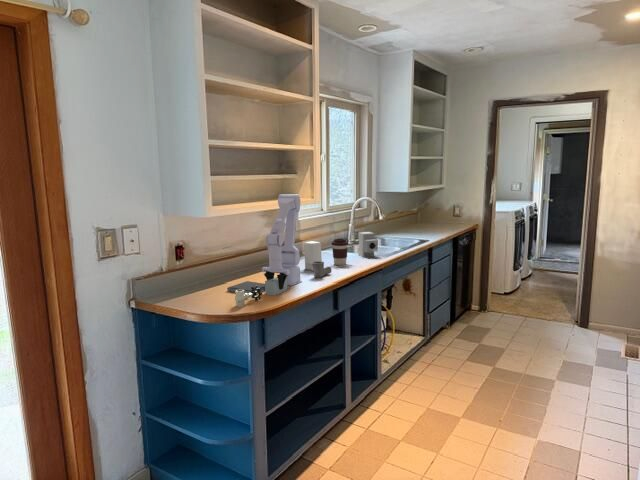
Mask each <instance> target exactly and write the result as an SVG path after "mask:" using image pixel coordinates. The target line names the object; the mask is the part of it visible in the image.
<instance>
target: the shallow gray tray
mask: <svg viewBox="0 0 640 480" xmlns="http://www.w3.org/2000/svg"><path fill="white" fill-rule="evenodd" d="M254 286H257V288H261V290H260V293H262V292H263V293H264V292H265V282H264V283H261V282H257V281H249V280H246V281H243V282H240V283H238V284H234V285H231V286H228V287H227V292H228V293H229V292H230V293H235V291H236V290H244V293H247V294H248V293H250V291H251V290H253V289H251V287H254ZM254 288H255V287H254ZM254 291H257V290H254Z"/></svg>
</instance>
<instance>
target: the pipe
mask: <svg viewBox="0 0 640 480" xmlns="http://www.w3.org/2000/svg"><path fill="white" fill-rule="evenodd" d="M312 266H313V270H314V271H313V276H314V278H316V279H319V278H322V277H324V276H326V275H329V274H331V273H332V269H333V268H332V267H331V266H326V267H324V266H325V261H322V262H312Z"/></svg>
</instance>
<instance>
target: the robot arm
mask: <svg viewBox="0 0 640 480" xmlns="http://www.w3.org/2000/svg"><path fill="white" fill-rule="evenodd" d="M277 204H278V207H279V208H278V212H277V218H276V219H275V220H274V221H273V222H272V223H273V224H272V225H271V226H272V227H271V230H270V232H269V233H267V235H266V239H265V242H266V245H267V246H266V247H267V250H268V264H269V266H263V267H261V272H262V273H263V276H264V278H266V281H267V280H270V279H272V278H275V274H276V277H278V281H279V289H280V290H281V289H283V287H284V282H285V280H286V278H287V286H291V287H292V286H295V285H297V284H299V283H303V281H302V279H301V268H300V265H299V264H300V262H301V261H300V260H301V257H300V250H299V249H298V248H297V247H296V246H295V243H296V242H295V241H296V240H295V239H296V228H297V227H296V225H297V216H298V215H297V214H298V213H299V212H300V210H301V197H300V195H299V194H298V193H296V194H293V193H292V194H291V193H290V194H289V193H287V194H286V193H285V194H284V193H283V194H282V193H279V195H278V197H277ZM284 232H285V234H284ZM283 243H284V244H283ZM264 272H265V273H264Z"/></svg>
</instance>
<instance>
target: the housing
mask: <svg viewBox="0 0 640 480" xmlns="http://www.w3.org/2000/svg"><path fill="white" fill-rule="evenodd" d="M264 284H265V291H264V292H265V293H264V294H265V295H271V296H276V295H279V294H281V293H284V292H286V291H288V285H287V278H286V280H285V282H284V287H283V289H281V290H280V289H279V281H278V277H277V276H276V277H275V276H274V278H272V279H270V280H267V279H266V280H264Z"/></svg>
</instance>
